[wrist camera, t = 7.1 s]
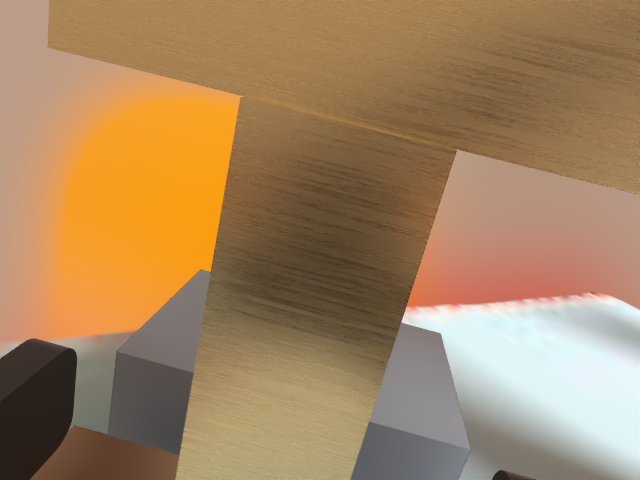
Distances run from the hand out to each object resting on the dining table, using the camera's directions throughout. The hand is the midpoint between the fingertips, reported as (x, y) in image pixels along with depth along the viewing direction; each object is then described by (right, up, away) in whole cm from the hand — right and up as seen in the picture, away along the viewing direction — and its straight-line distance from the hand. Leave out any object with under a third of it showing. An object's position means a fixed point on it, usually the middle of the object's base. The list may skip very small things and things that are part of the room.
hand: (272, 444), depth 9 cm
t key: (-2, -9, +4) cm, 10 cm away
